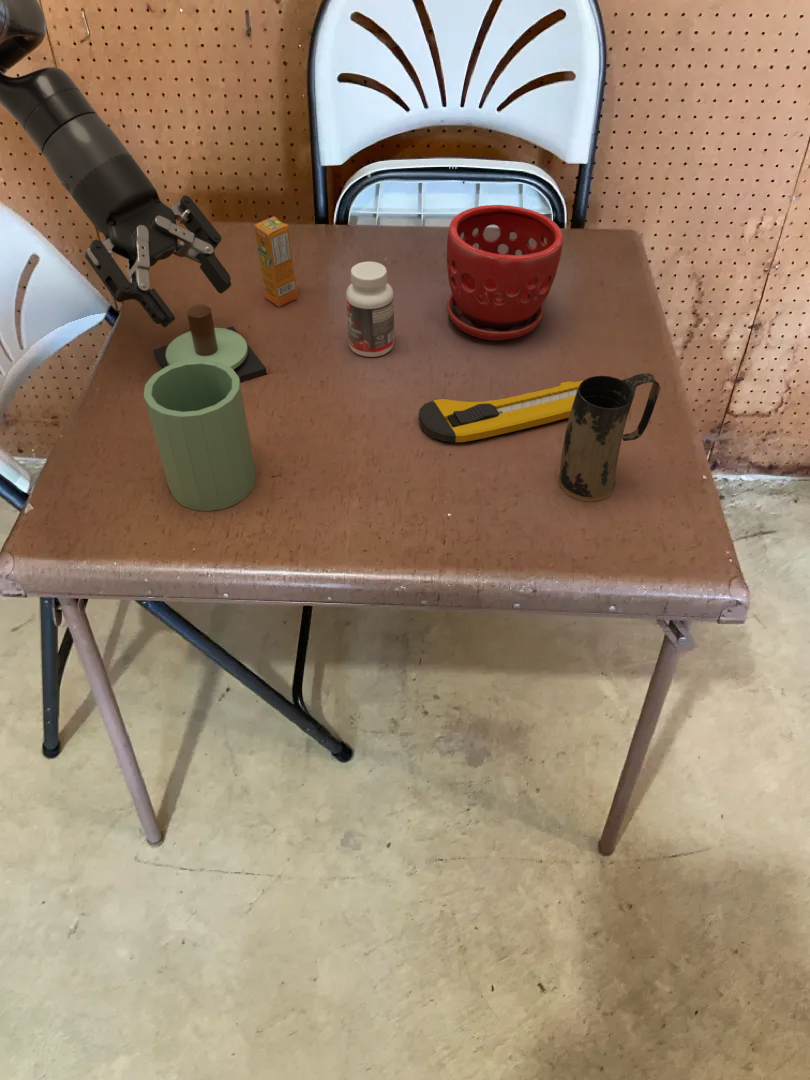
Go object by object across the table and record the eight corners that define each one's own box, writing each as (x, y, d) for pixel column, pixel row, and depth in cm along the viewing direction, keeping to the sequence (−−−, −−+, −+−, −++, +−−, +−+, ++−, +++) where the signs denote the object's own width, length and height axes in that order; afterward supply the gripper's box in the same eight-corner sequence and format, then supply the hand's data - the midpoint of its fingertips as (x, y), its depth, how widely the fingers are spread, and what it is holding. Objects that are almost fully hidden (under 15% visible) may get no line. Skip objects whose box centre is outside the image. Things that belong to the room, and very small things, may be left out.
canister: (187, 522, 80) (162, 427, 71) (158, 471, 85) (131, 376, 76) (269, 492, 82) (254, 397, 74) (236, 444, 87) (218, 349, 79)
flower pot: (480, 362, 98) (487, 267, 89) (424, 308, 105) (426, 216, 97) (572, 333, 102) (587, 239, 93) (512, 283, 110) (521, 192, 101)
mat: (183, 400, 92) (182, 394, 92) (154, 355, 98) (152, 349, 98) (267, 373, 96) (266, 367, 95) (233, 331, 102) (232, 325, 101)
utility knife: (412, 415, 91) (412, 400, 89) (595, 372, 96) (598, 357, 95) (435, 454, 86) (436, 439, 85) (627, 406, 92) (630, 391, 90)
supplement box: (261, 298, 107) (251, 222, 100) (284, 289, 109) (275, 214, 101) (277, 309, 105) (267, 233, 98) (299, 299, 107) (291, 224, 100)
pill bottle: (339, 344, 100) (334, 269, 93) (373, 327, 102) (371, 252, 95) (369, 364, 97) (366, 287, 90) (403, 346, 100) (403, 270, 93)
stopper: (183, 391, 92) (172, 343, 88) (156, 350, 98) (144, 302, 93) (261, 367, 96) (254, 319, 91) (230, 328, 101) (222, 281, 96)
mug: (568, 506, 81) (588, 406, 72) (548, 468, 85) (565, 369, 76) (644, 493, 82) (673, 393, 74) (621, 456, 86) (646, 358, 77)
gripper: (54, 179, 81) (163, 321, 84) (163, 131, 89) (258, 263, 92) (35, 217, 87) (138, 349, 90) (139, 170, 95) (230, 292, 98)
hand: (199, 306), depth 91 cm, fingers open, 8 cm apart
